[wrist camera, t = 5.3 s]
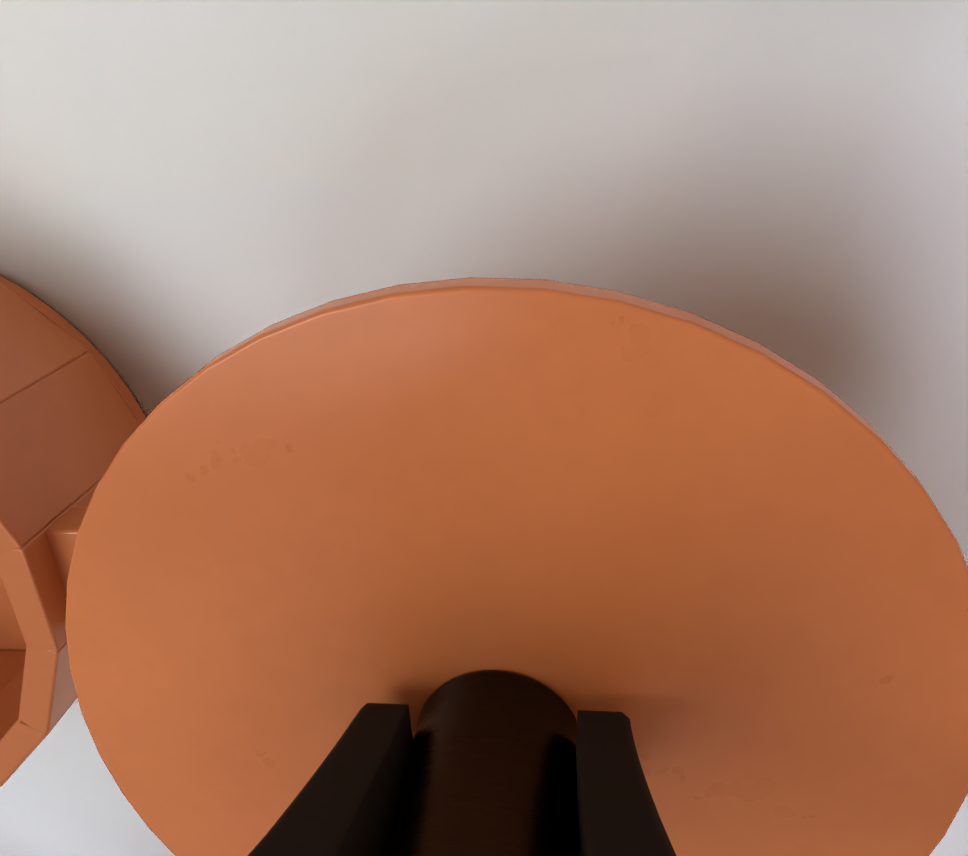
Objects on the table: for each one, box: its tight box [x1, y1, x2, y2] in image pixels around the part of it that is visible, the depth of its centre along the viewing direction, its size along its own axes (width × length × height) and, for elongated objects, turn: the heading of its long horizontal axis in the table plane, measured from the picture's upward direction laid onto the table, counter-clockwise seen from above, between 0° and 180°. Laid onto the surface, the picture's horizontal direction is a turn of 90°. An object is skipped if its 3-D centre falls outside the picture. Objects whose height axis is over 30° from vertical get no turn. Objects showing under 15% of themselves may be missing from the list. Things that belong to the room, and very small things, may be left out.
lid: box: [65, 277, 968, 856], centre depth 11 cm, size 13×13×4 cm
